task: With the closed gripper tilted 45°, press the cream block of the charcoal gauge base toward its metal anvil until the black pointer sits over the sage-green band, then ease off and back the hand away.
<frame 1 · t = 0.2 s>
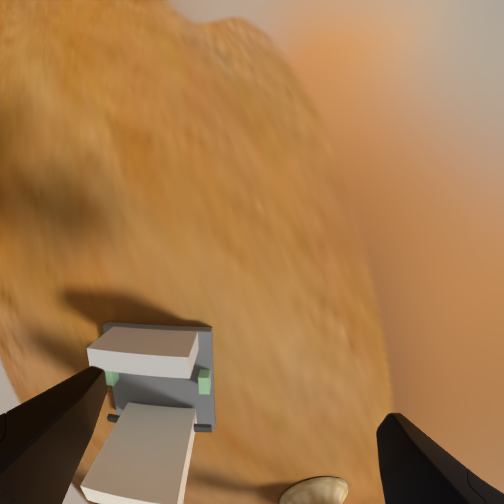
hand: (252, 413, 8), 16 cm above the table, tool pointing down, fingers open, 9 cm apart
gauge base: (161, 376, 24), on the table
hand bell: (313, 495, 26), on the table
cream block: (147, 452, 17), point 7 cm above the table, slide at 0.0 cm
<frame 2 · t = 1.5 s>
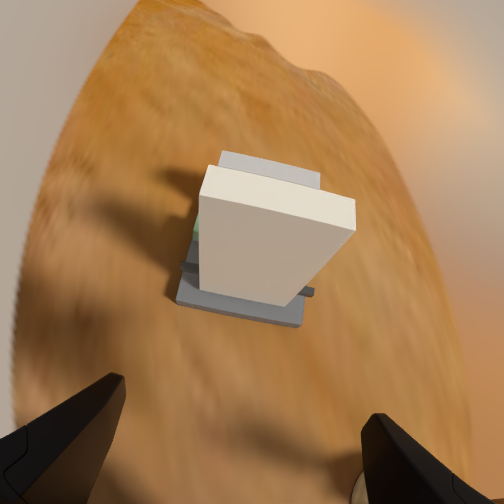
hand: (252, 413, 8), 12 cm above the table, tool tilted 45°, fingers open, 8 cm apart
gauge base: (248, 258, 24), on the table
hand bell: (392, 486, 17), on the table
cream block: (257, 256, 16), point 7 cm above the table, slide at 0.0 cm
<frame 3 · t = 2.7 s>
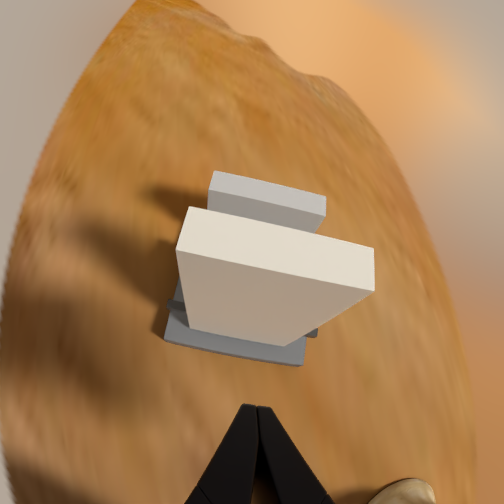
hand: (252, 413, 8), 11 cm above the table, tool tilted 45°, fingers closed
gauge base: (244, 290, 21), on the table
cream block: (253, 302, 14), point 7 cm above the table, slide at 0.0 cm
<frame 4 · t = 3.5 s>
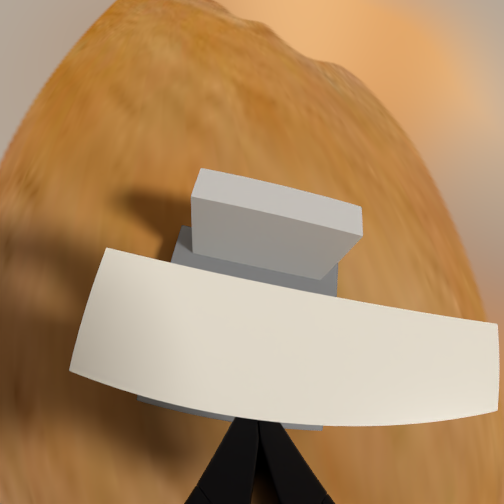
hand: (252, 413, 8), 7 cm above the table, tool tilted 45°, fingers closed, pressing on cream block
gauge base: (244, 331, 16), on the table
cream block: (260, 380, 8), point 7 cm above the table, slide at 0.1 cm, touching gripper
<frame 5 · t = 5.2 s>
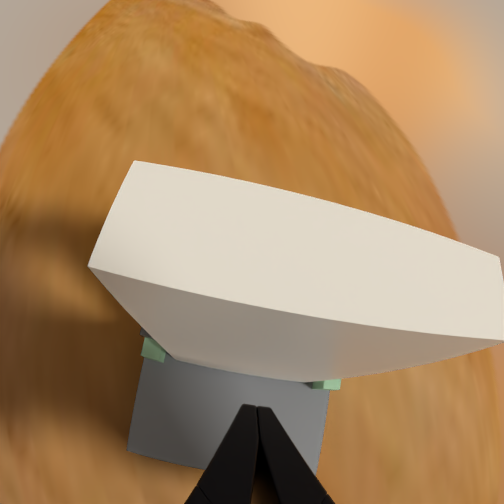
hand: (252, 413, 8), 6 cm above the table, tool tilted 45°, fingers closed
gauge base: (236, 379, 14), on the table
cream block: (268, 339, 8), point 7 cm above the table, slide at 4.0 cm
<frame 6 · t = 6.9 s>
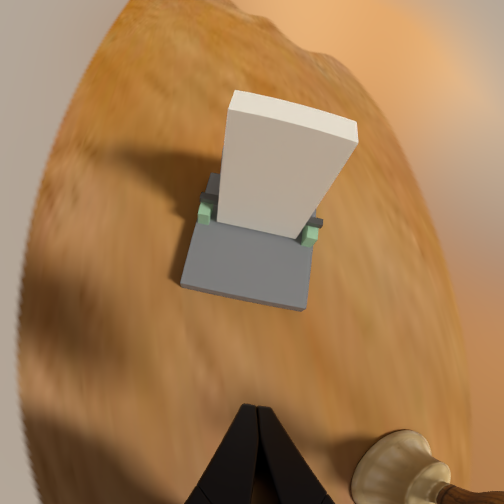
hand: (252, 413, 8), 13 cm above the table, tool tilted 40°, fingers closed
gauge base: (252, 241, 24), on the table
hand bell: (391, 472, 18), on the table
cream block: (272, 179, 18), point 7 cm above the table, slide at 4.0 cm
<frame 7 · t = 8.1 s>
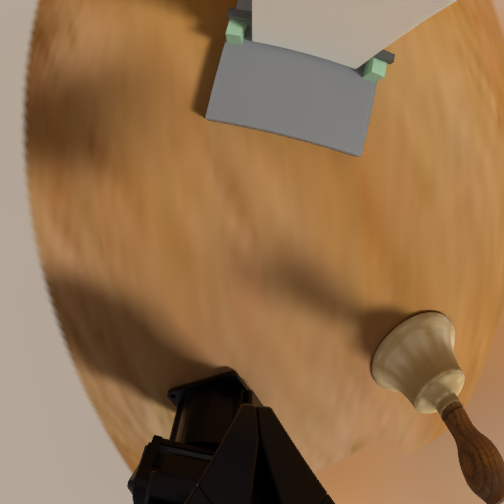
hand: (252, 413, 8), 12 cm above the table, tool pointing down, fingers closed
gauge base: (300, 64, 15), on the table
hand bell: (414, 352, 22), on the table
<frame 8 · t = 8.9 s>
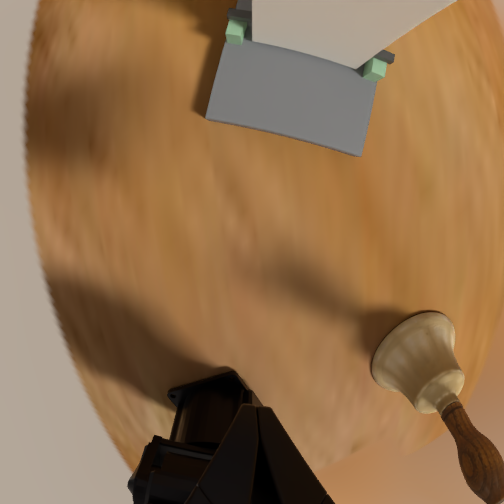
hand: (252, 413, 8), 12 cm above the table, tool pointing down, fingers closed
gauge base: (300, 64, 15), on the table
hand bell: (414, 352, 22), on the table
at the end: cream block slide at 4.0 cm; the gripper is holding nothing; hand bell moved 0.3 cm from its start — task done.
